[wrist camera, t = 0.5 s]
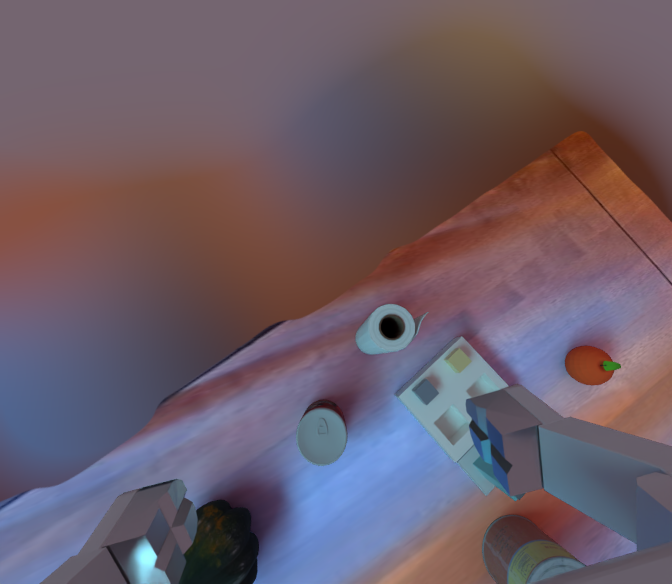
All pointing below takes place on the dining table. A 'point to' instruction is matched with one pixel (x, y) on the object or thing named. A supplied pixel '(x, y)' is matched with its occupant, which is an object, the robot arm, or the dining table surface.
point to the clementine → (590, 365)
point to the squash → (221, 547)
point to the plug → (492, 476)
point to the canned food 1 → (322, 433)
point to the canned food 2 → (523, 552)
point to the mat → (474, 470)
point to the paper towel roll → (387, 330)
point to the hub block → (449, 395)
